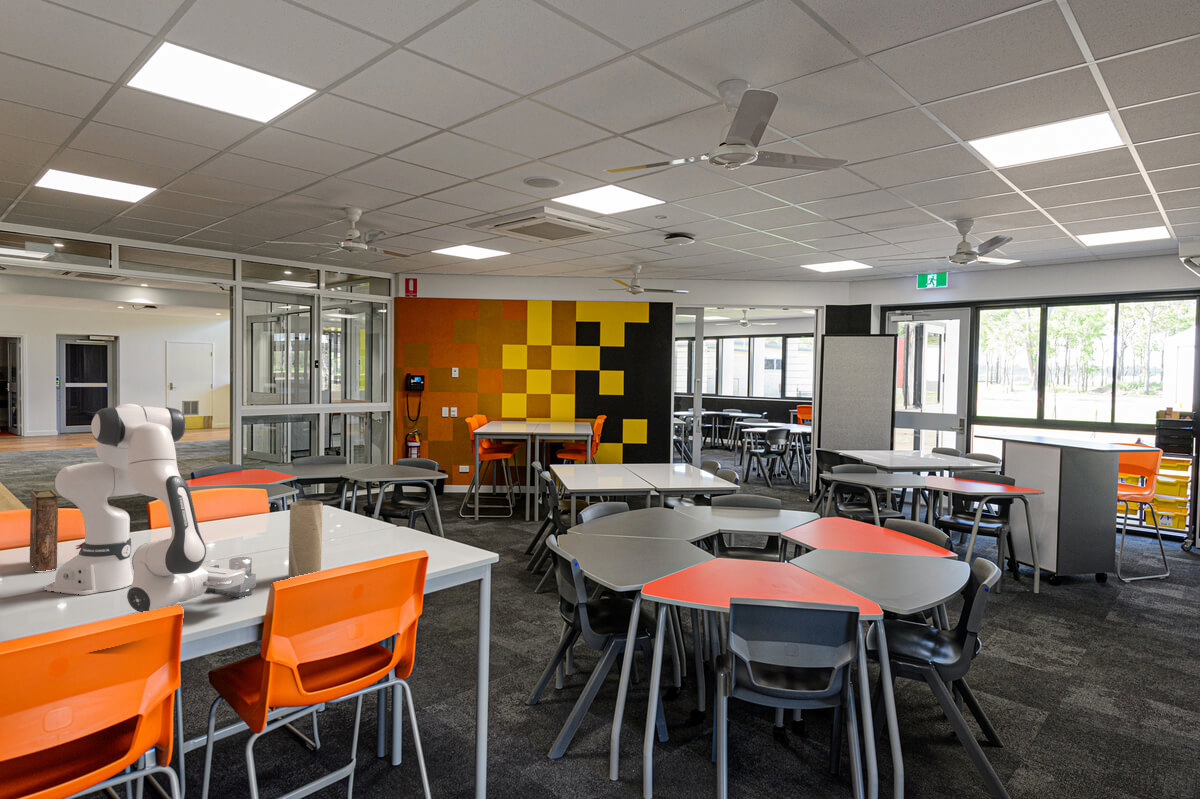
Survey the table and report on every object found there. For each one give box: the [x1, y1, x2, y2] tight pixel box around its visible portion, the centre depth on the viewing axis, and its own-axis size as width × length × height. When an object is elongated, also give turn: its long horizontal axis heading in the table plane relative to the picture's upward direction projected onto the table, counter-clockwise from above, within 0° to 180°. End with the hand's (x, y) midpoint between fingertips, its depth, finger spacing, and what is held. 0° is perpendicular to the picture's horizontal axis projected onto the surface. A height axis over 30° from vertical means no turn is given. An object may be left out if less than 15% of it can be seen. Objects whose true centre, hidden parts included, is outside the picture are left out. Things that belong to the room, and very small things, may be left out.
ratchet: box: [205, 588, 253, 599], centre depth 197 cm, size 19×6×5 cm, turn 76°
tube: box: [287, 499, 324, 579], centre depth 215 cm, size 10×10×25 cm
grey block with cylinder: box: [224, 556, 257, 593], centre depth 195 cm, size 6×6×9 cm
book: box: [29, 489, 59, 572], centre depth 216 cm, size 16×6×25 cm, turn 47°
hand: (230, 569), depth 191 cm, fingers open, 8 cm apart
